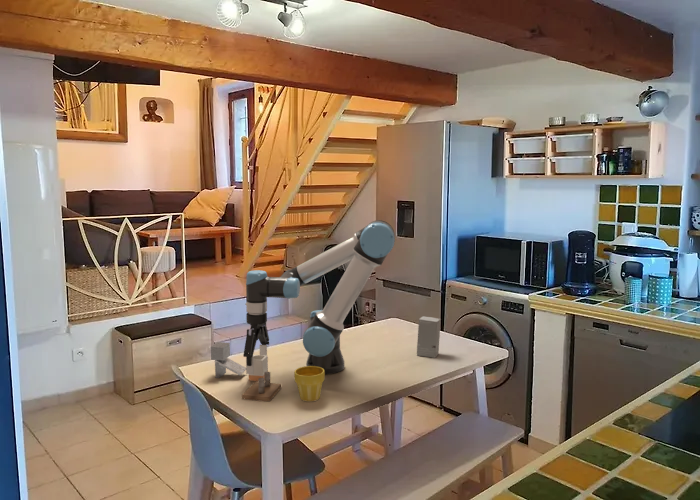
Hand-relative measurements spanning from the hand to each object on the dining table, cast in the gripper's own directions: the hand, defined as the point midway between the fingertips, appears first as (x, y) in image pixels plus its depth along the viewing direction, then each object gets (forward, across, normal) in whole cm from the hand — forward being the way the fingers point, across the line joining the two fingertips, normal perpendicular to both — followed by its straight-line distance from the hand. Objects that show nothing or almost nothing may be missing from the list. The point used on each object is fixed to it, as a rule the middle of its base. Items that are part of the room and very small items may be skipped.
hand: (256, 367), depth 209 cm
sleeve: (+4, 0, +1) cm, 4 cm away
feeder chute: (+4, 0, -10) cm, 11 cm away
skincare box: (+3, -40, +62) cm, 74 cm away
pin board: (+4, +13, +7) cm, 16 cm away
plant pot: (+4, +14, +25) cm, 29 cm away
